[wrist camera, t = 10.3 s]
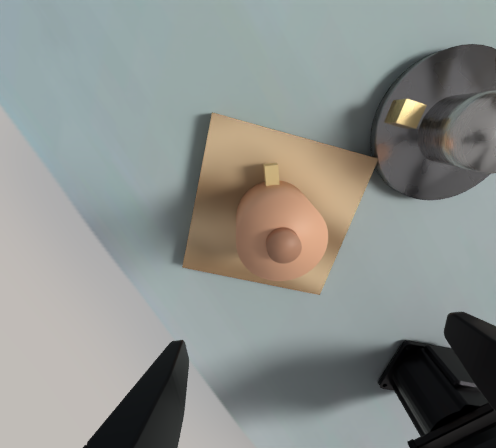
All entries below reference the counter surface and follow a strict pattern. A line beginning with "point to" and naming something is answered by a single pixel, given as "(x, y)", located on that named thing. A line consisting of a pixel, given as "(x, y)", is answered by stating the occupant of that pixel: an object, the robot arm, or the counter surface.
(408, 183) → the metal flange
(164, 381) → the robot arm
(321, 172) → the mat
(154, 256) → the counter surface
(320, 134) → the counter surface
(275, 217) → the cap
